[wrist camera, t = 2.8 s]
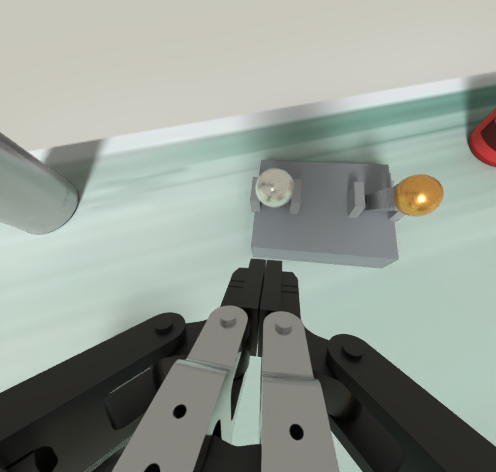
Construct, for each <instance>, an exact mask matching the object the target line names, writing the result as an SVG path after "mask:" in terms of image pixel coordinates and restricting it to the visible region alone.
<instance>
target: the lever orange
mask: <svg viewBox="0 0 496 472" xmlns="http://www.w3.org/2000/svg"><path fill="white" fill-rule="evenodd" d="M442 199H443V188H442V186H441V184H440V183H439V181H438V180H436V179H435V178H433V177H431V176H428V175H413V176H410V177H407V178H405V179H404V180H402V181H401V182H400V183H399V184H398V185H397V186H394V187H390V188H387V189H383V190H380V191H376V192H373V193H369V194H365V208H364V210H366V211H382V212H387V211H400V212H401V213H403V214H405V215H408V216H423V215H426V214H429V213H431V212H432V211H434V210H435V209H436V208H437V207H438V206H439V205H440V203H441V202H442Z"/></svg>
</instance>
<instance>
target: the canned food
mask: <svg viewBox="0 0 496 472" xmlns="http://www.w3.org/2000/svg"><path fill="white" fill-rule="evenodd" d="M469 146H470V149H471V151H472V152H473V154H474V155H475V156H476V157H477V158H478V159H479V160H481V161H482V162H484V163H486V164H488V165H490V166H493V167H496V108H495V109H494V110H493V111H492V112H491V113H490V114H489V115H488V116H487V117H486V118H485V119H484V120H483V121H482V122H481V123H480V124H479V125H478V126H477V127H476V128H475V129H474V131H473V132H472V134H471V136H470V139H469Z"/></svg>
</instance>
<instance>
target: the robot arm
mask: <svg viewBox="0 0 496 472" xmlns="http://www.w3.org/2000/svg"><path fill="white" fill-rule="evenodd" d="M77 203H78V194H77V190H76V188H75V187H74V186H73V185H72V184H71V183H69V182H68V181H67V180H65V179H64V178H63V177H61V176H60V175H58V174H57V173H56V172H54V171H53V170H52V169H50V168H49V167H48V166H46V165H45V164H43V163H42V162H41V161H39V160H38V159H37V158H35V157H34V156H32V155H31V154H30V153H28V152H27V151H26V150H24V149H23V148H21V147H20V146H19V145H17V144H16V143H14V142H13V141H12V140H10V139H9V138H8V137H6V136H5V135H3V134H2V133H1V132H0V222H3V223H5V224H8V225H10V226H13V227H16V228H18V229H21V230H23V231H26V232H28V233H31V234H45V233H49V232H52V231H54V230H56V229H58V228H59V227H60V226H62V225H63V224H64V223H65V222H66V221H67V220H69V218H70V217H71V216H72V214H73V213H74V211H75V209H76V206H77ZM257 345H258V357H262V359H261V378H260V416H259V444H255V445H247V446H234V445H231V442H232V434H233V428H234V424H235V420H236V416H237V412H238V408H239V403H240V399H241V395H242V391H243V387H244V383H245V379H246V375H247V368H248V365H249V359H250V356H256V352H257ZM149 367H150V369H149V370H148V371H146V372H144V373H143V374H141V375H140V376H138V377H136V378H135V379H133V380H132V381H130V382H129V383H127V384H125V385H124V386H122V387H121V388H119V389H117V390H116V391H114V392H113V393H111V394H109V393H110V392H111V391H113V390H114V389H115V388H117V387H119V386H120V385H122V384H123V383H125V382H127V381H128V380H130V379H131V378H133V377H135V376H136V375H138V374H139V373H141V372H143V371H144V370H146V369H147V368H149ZM331 431H332V432H333V434H334V435H335V436H336V438H337V439H338V440H339V441H340V443H341V444H342V445H343V447H344V448H345V449H346V451H347V452H348V453H349V455H350V456H351V457H352V458H353V460H354V461H355V462H356V464H357V465H358V466H359V468H360V469H361V470H362V472H496V447H495V446H494V445H493V444H492V443H490V442H489V441H488V440H487V439H485V438H484V437H483V436H482V435H480V434H479V433H478V432H477V431H475V430H474V429H473V428H472V427H471V426H469V425H468V424H467V423H466V422H464V421H463V420H462V419H461V418H459V417H458V416H457V415H456V414H454V413H453V412H452V411H451V410H449V409H448V408H447V407H446V406H444V405H443V404H442V403H441V402H439V401H438V400H437V399H436V398H434V397H433V396H432V395H431V394H429V393H428V392H427V391H426V390H425V389H423V388H422V387H421V386H420V385H418V384H417V383H416V382H415V381H413V380H412V379H411V378H410V377H408V376H407V375H406V374H405V373H403V372H402V371H401V370H400V369H398V368H397V367H396V366H395V365H393V364H392V363H391V362H390V361H388V360H387V359H386V358H385V357H383V356H382V355H381V354H380V353H378V352H377V351H376V350H375V349H374V348H372V347H371V346H370V345H369V344H367V343H366V342H365V341H363V340H362V339H360V338H358V337H355V336H352V335H348V334H339V335H335V336H333V337H332V338H331V339H330V341H329V340H327V339H324V338H321V337H319V336H317V335H315V334H313V333H311V332H310V331H309V330H307V329H306V328H305V326H304V325H303V323H302V321H301V316H300V303H299V289H298V279H297V277H296V276H295V275H294V273H293V272H283V271H282V261H276V260H267V265H266V260H263V259H252V258H251V261H250V264H249V268H238V269H237V270H236V271H235V272H234V273H233V274H232V277H231V280H230V282H229V285H228V288H227V290H226V293H225V296H224V298H223V301H222V303H221V306H220V307H219V308H217V309H215V310H214V311H213V312H212V313H211V314H210V316H209V318H208V319H207V320H204V321H200V322H193V323H186V324H185V320H184V318H183V317H182V316H181V315H179V314H177V313H162V314H159V315H157V316H154V317H152V318H150V319H148V320H146V321H144V322H142V323H140V324H138V325H136V326H134V327H132V328H130V329H128V330H126V331H124V332H122V333H120V334H118V335H116V336H114V337H112V338H110V339H108V340H106V341H104V342H102V343H100V344H98V345H96V346H94V347H92V348H90V349H88V350H86V351H84V352H82V353H80V354H78V355H76V356H74V357H72V358H70V359H68V360H66V361H64V362H62V363H60V364H58V365H56V366H54V367H52V368H50V369H48V370H46V371H44V372H42V373H40V374H38V375H36V376H33V377H31V378H29V379H27V380H25V381H23V382H21V383H19V384H17V385H15V386H13V387H11V388H9V389H7V390H5V391H3V392H1V393H0V472H83V471H84V470H86V469H87V468H88V467H90V466H91V465H92V464H93V463H95V462H96V461H97V460H99V459H100V458H101V457H103V456H104V455H105V454H106V453H108V452H109V451H110V450H112V449H113V448H114V447H116V446H117V445H118V444H119V443H121V442H122V441H123V440H125V439H126V438H127V437H129V436H130V435H131V434H132V433H134V434H133V436H132V437H131V439H130V441H129V443H128V444H127V446H125V447H123V448H122V449H120V450H119V451H117V452H116V453H114V454H113V455H112V456H111V457H109V458H108V459H107V460H105V461H104V462H103V463H102V464H101V465H99V466H98V467H97V468H96V469H95V470H93V471H92V472H339V467H338V462H337V458H336V453H335V448H334V444H333V439H332V434H331Z"/></svg>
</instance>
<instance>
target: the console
mask: <svg viewBox="0 0 496 472" xmlns="http://www.w3.org/2000/svg"><path fill="white" fill-rule="evenodd" d="M272 168H278V169H282V170H284V171H286V172H287V173H288V174H289V175H290V176H291V177H292V179H293V182H294V193H293V196H292V198H291V199H290V200H289V202H288V203H286V206H285V205H283V206H281V207H275V208H273V207H268V206H266V205H264V204H263V203H262V202H261V201H260V200H259V199H258V197H257V195H256V190H255V187H256V182H257V179H258V178H259V177H253V183H252V191H251V198H250V202H251V208H252V212H255V218H254V226H253V235H252V243H251V249H252V253H253V257H261V258H272V259H284V260H295V261H306V262H317V263H329V264H340V265H351V266H362V267H374V268H383V267H385V266H387V265H389V264H391V263H393V262H395V261H396V260H398V252H399V245H398V236H397V227H396V221H398V220H400V219H401V218H402V217H403V216H404V215H405V214H403V213H401V212H400V211H387V212H382V211H366V210H364V208H365V194H369V193H373V192H376V191H380V190H383V189H387V188H390V187H394V181H391V173H389V167H388V165H381V164H356V163H330V162H305V161H279V160H261V166H260V175H261V174H262V173H263V172H265V171H266V170H268V169H272ZM260 175H259V176H260ZM397 185H398V184H397ZM397 185H396V186H397Z"/></svg>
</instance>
